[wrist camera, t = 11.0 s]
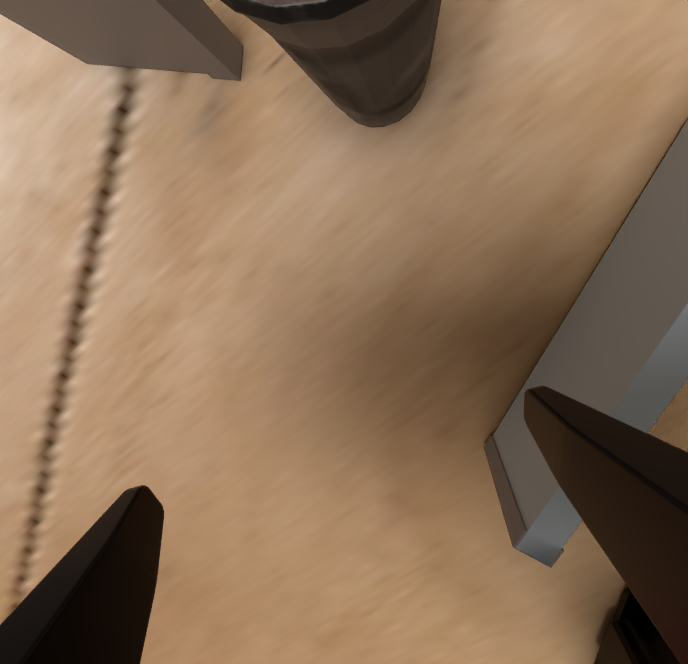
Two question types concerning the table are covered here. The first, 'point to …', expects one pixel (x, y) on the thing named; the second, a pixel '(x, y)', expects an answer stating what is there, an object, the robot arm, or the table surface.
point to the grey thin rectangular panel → (606, 355)
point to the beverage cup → (355, 49)
